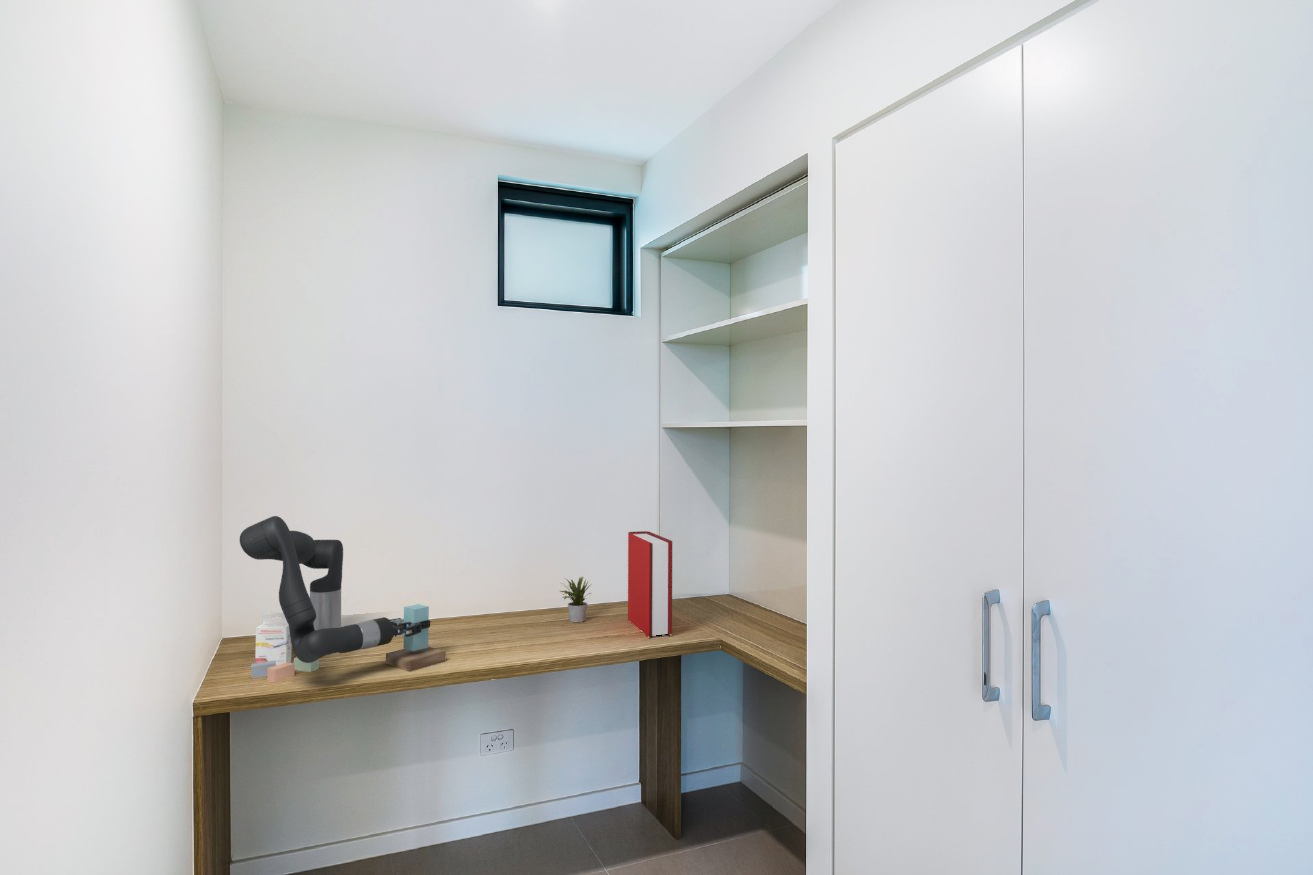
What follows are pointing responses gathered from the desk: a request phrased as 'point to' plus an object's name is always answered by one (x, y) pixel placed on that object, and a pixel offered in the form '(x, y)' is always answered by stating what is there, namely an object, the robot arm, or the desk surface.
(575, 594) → the house plant
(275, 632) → the ink cartridge box
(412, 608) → the tall teal brick
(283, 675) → the terracotta brick
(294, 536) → the robot arm
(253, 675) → the slate brick
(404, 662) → the walnut block
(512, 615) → the desk surface
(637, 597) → the book
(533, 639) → the desk surface
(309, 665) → the sage brick
